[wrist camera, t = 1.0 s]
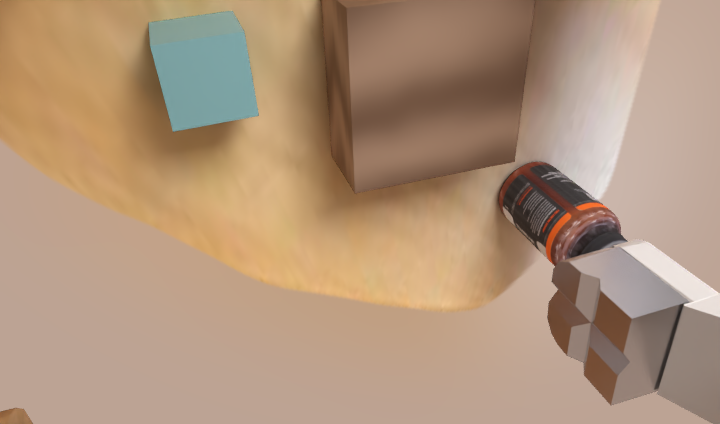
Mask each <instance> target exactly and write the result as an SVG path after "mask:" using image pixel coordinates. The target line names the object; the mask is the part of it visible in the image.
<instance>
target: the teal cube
mask: <svg viewBox="0 0 720 424" xmlns="http://www.w3.org/2000/svg"><path fill="white" fill-rule="evenodd" d="M149 38H150V48H151V51H152V55H153V59H154V63H155V66H156V70H157V74H158V77H159V81H160V85H161V89H162V92H163V96H164V100H165V104H166V107H167V111H168V115H169V118H170V122H171V126H172V130H173V132H175V131H180V130H185V129H191V128H196V127H201V126H207V125H212V124H217V123H223V122H228V121H233V120H239V119H244V118H249V117H255V116H259V114H258V108H257V102H256V96H255V91H254V85H253V79H252V73H251V68H250V62H249V56H248V50H247V45H246V39H245V33H244V30H243V28H242V27H241V25H240V23H239V21H238V20H237V18H236V16H235V14H234V13H233V11H226V12H219V13H212V14H205V15H198V16H191V17H184V18H177V19H170V20H163V21H156V22H149Z"/></svg>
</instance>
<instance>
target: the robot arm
mask: <svg viewBox="0 0 720 424" xmlns="http://www.w3.org/2000/svg"><path fill="white" fill-rule="evenodd" d="M552 282H553V284H554V285H555V286H556V287H557V288H558V290H557V292H556V293H555V294H554V296H553V297H552V299H551V300H550V301H549V305H548V316H547V318H548V322H549V326H550V330H551V333H552V335H553V337H554V339H555V341H556V342H557V344H558V345H559V347H560V348H561V349H562V350H563V352H564V353H565V354H566V355H567V356H569V357H571V358H574V359H576V360H578V361H581V362H583V363H584V376H585V377H586V378H587V379H588V380H589V381H590V383H591V384H592V385H593V386H594V387H595V388H596V389H597V390H598V391H599V393H600V394H601V395H602V396H603V397H604V398H605V399H606V400H607V402H608V403H609V404H610V405H614V404H617V403H621V402H624V401H627V400H630V399H634V398H637V397H640V396H643V395H647V394H650V393H653V392H656V391H658V392H657V394H658V395H660V396H662V397H664V398H666V399H668V400H669V401H671V402H673V403H675V404H677V405H679V406H681V407H683V408H684V409H686V410H688V411H690V412H692V413H694V414H696V415H698V416H699V417H701V418H703V419H705V420H707V421H709V422H711V423H713V424H720V294H719V293H718V292H716V291H715V290H714V289H712V288H711V287H710V286H708V285H707V284H705V283H704V282H703V281H701V280H699V279H698V278H697V277H696V276H694V275H693V274H691V273H690V272H689V271H687V270H686V269H684V268H683V267H682V266H680V265H679V264H678V263H676V262H675V261H674V260H672V259H671V258H669V257H668V256H667V255H665V254H664V253H663V252H661V251H660V250H658V249H657V248H656V247H654V246H653V245H651V244H650V243H649V242H647V241H644V240H640V239H635V240H632V241H628V242H625V243H621V244H618V245H614V246H611V247H610V248H605V249H601V250H598V251H594V252H591V253H587V254H583V255H580V256H576V257H573V258H569V259H565V260H562V261H558V263H557V265H556V266H555V268H554V269H553V276H552ZM0 424H33V423H32V421H31V420H30V418H29V416H28V415H27V413H26V412H25V410H24V409H20V408H13V409H9V410H5V411H1V412H0Z"/></svg>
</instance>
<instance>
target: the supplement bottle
mask: <svg viewBox="0 0 720 424" xmlns="http://www.w3.org/2000/svg"><path fill="white" fill-rule="evenodd" d="M499 205H500V209H501V211H502V213H503V214H504V215H505V216H506V218H507V219H508V220H509V221H510V222H511V223H512V224H513V225H514V226H515V227H516V228H517V229H518V230H519V231H520V232H521V233H522V234H523V235H524V236H525V237H526V238H527V239H528V240H529V241H530V242H531V243H532V244H533V245H534V246H535V247H536V248H537V249H538V250H539V251H540V252H541V253H542V254H543V255H544V256H545V257H546V258H547V259H548V260H549V261H550V262H551V263H552V264H554V266H556V265H557V263H558V261H562V260H565V259H569V258H573V257H576V256H580V255H583V254H587V253H591V252H594V251H598V250H601V249H605V248H610V247H611V246H614V245H618V244H621V243H625V242H628V241H627V240H626V239H624V238H623V236H622V235H621V227H620V222H619V220H618V218H617V217H616V216H615V214H614V213H613V212H611V211H610V210H609V209H608V208H607V207H605V206H604V205H603V204H602V203H600V202H599V201H598V200H596V199H595V198H594V197H592V196H591V195H590V194H589V193H587V192H586V191H585V190H583V189H582V188H581V187H579V186H578V185H577V184H575V183H574V182H573V181H572V180H570V179H569V178H568V177H566V176H565V175H564V174H562V173H561V172H560V171H559V170H557V169H556V168H554V167H553V166H551V165H550V164H547V163H544V162H532V163H528V164H526V165H524V166H522V167H520V168H518V169H517V170H515V171H514V172H513V173H512V174H511V175H510V176H509V177H508V178H507V180H506V181H505V183H504V185H503V187H502V189H501V192H500V196H499Z"/></svg>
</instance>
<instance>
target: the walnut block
mask: <svg viewBox="0 0 720 424" xmlns="http://www.w3.org/2000/svg"><path fill="white" fill-rule="evenodd" d="M321 6H322V20H323V35H324V49H325V64H326V78H327V93H328V107H329V122H330V136H331V151H332V157H333V159H334V160H335V162H336V164H337V165H338V167H339V168H340V170H341V172H342V173H343V175H344V176H345V178H346V180H347V181H348V183H349V184H350V186H351V188H352V189H353V191H354V193H360V192H365V191H370V190H375V189H380V188H385V187H390V186H395V185H400V184H405V183H410V182H415V181H420V180H425V179H430V178H435V177H440V176H445V175H450V174H455V173H460V172H465V171H470V170H475V169H480V168H485V167H490V166H496V165H501V164H506V163H511V162H515V154H516V147H517V139H518V131H519V123H520V115H521V108H522V100H523V92H524V84H525V77H526V69H527V61H528V53H529V45H530V38H531V30H532V22H533V14H534V6H535V0H321Z"/></svg>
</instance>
